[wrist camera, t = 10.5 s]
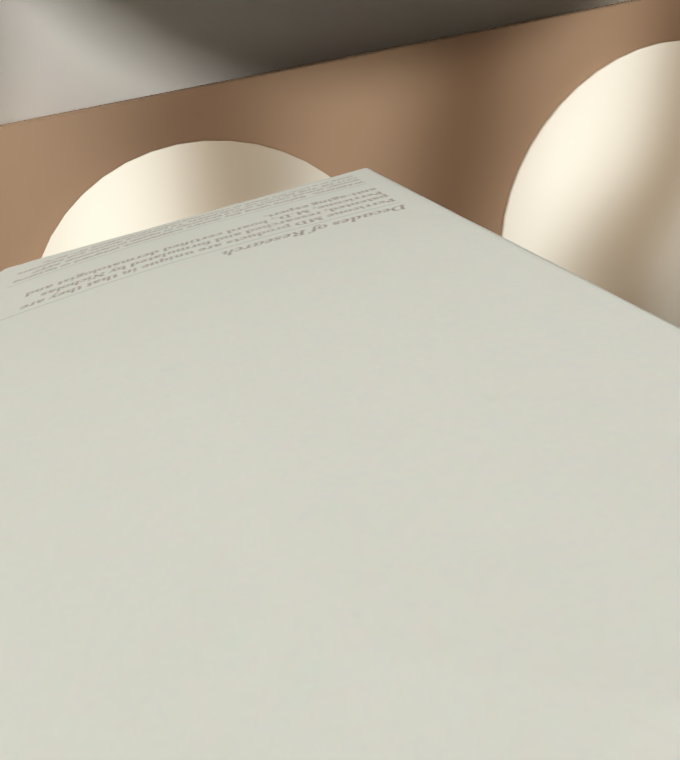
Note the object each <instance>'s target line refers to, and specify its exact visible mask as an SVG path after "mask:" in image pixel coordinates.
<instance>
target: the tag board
mask: <svg viewBox="0 0 680 760" xmlns="http://www.w3.org/2000/svg"><path fill="white" fill-rule="evenodd" d="M363 168H368V169H371V170H372V171H374V172H376V173H378V174H380V175H382V176H384V177H386V178H388V179H390V180H392V181H394V182H396V183H398V184H400V185H402V186H404V187H405V188H407V189H409V190H411V191H413V192H415V193H417V194H419V195H421V196H423V197H425V198H427V199H429V200H431V201H433V202H435V203H437V204H439V205H440V206H442V207H444V208H446V209H448V210H450V211H452V212H454V213H456V214H458V215H460V216H461V217H463V218H465V219H467V220H470V221H472V222H474V223H476V224H478V225H480V226H482V227H484V228H486V229H488V230H490V231H492V232H494V233H496V234H498V235H500V236H502V237H504V238H505V239H507V240H509V241H511V242H513V243H515V244H517V245H519V246H521V247H523V248H525V249H527V250H529V251H531V252H533V253H534V254H536V255H538V256H540V257H542V258H544V259H546V260H549V261H551V262H553V263H555V264H557V265H559V266H560V267H562V268H564V269H566V270H568V271H570V272H572V273H574V274H576V275H578V276H580V277H582V278H583V279H585V280H587V281H589V282H591V283H593V284H595V285H597V286H599V287H601V288H603V289H605V290H606V291H608V292H610V293H612V294H614V295H616V296H618V297H620V298H622V299H624V300H626V301H628V302H630V303H632V304H634V305H636V306H638V307H639V308H641V309H643V310H645V311H647V312H649V313H651V314H653V315H655V316H657V317H659V318H661V319H663V320H665V321H667V322H669V323H671V324H673V325H675V326H677V327H679V328H680V0H632V1H627V2H621V3H616V4H611V5H606V6H601V7H596V8H591V9H586V10H581V11H576V12H571V13H566V14H561V15H556V16H550V17H545V18H540V19H535V20H530V21H525V22H520V23H515V24H510V25H505V26H500V27H495V28H490V29H485V30H480V31H474V32H469V33H464V34H459V35H454V36H449V37H444V38H439V39H434V40H429V41H424V42H419V43H414V44H409V45H403V46H398V47H393V48H388V49H383V50H378V51H373V52H368V53H363V54H358V55H353V56H348V57H343V58H338V59H332V60H327V61H322V62H317V63H312V64H307V65H302V66H297V67H292V68H287V69H282V70H277V71H272V72H267V73H261V74H256V75H251V76H246V77H241V78H236V79H231V80H226V81H221V82H216V83H211V84H206V85H201V86H196V87H191V88H185V89H180V90H175V91H170V92H165V93H160V94H155V95H150V96H145V97H140V98H135V99H130V100H125V101H120V102H114V103H109V104H104V105H99V106H94V107H89V108H84V109H79V110H74V111H69V112H64V113H59V114H54V115H49V116H43V117H38V118H33V119H28V120H23V121H18V122H13V123H8V124H3V125H0V272H1V271H3V270H4V269H6V268H9V267H12V266H16V265H20V264H24V263H27V262H30V261H33V260H36V259H40V258H44V257H47V256H51V255H55V254H58V253H62V252H65V251H69V250H73V249H76V248H80V247H83V246H87V245H91V244H94V243H98V242H102V241H105V240H109V239H112V238H116V237H120V236H123V235H127V234H131V233H134V232H138V231H142V230H145V229H149V228H152V227H156V226H159V225H163V224H166V223H170V222H173V221H176V220H180V219H184V218H188V217H191V216H195V215H199V214H203V213H206V212H210V211H213V210H216V209H219V208H223V207H226V206H229V205H233V204H236V203H240V202H244V201H249V200H253V199H257V198H260V197H263V196H266V195H270V194H274V193H277V192H281V191H284V190H287V189H291V188H295V187H298V186H301V185H305V184H308V183H312V182H316V181H320V180H324V179H327V178H331V177H334V176H338V175H341V174H345V173H348V172H352V171H356V170H360V169H363Z"/></svg>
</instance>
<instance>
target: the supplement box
mask: <svg viewBox="0 0 680 760" xmlns="http://www.w3.org/2000/svg"><path fill="white" fill-rule="evenodd" d="M0 760H680V328H679V327H677V326H675V325H673V324H671V323H669V322H667V321H665V320H663V319H661V318H659V317H657V316H655V315H653V314H651V313H649V312H647V311H645V310H643V309H641V308H639V307H638V306H636V305H634V304H632V303H630V302H628V301H626V300H624V299H622V298H620V297H618V296H616V295H614V294H612V293H610V292H608V291H606V290H605V289H603V288H601V287H599V286H597V285H595V284H593V283H591V282H589V281H587V280H585V279H583V278H582V277H580V276H578V275H576V274H574V273H572V272H570V271H568V270H566V269H564V268H562V267H560V266H559V265H557V264H555V263H553V262H551V261H549V260H546V259H544V258H542V257H540V256H538V255H536V254H534V253H533V252H531V251H529V250H527V249H525V248H523V247H521V246H519V245H517V244H515V243H513V242H511V241H509V240H507V239H505V238H504V237H502V236H500V235H498V234H496V233H494V232H492V231H490V230H488V229H486V228H484V227H482V226H480V225H478V224H476V223H474V222H472V221H470V220H467V219H465V218H463V217H461V216H460V215H458V214H456V213H454V212H452V211H450V210H448V209H446V208H444V207H442V206H440V205H439V204H437V203H435V202H433V201H431V200H429V199H427V198H425V197H423V196H421V195H419V194H417V193H415V192H413V191H411V190H409V189H407V188H405V187H404V186H402V185H400V184H398V183H396V182H394V181H392V180H390V179H388V178H386V177H384V176H382V175H380V174H378V173H376V172H374V171H372V170H371V169H368V168H363V169H360V170H356V171H352V172H348V173H345V174H341V175H338V176H334V177H331V178H327V179H324V180H320V181H316V182H312V183H308V184H305V185H301V186H298V187H295V188H291V189H287V190H284V191H281V192H277V193H274V194H270V195H266V196H263V197H260V198H257V199H253V200H249V201H244V202H240V203H236V204H233V205H229V206H226V207H223V208H219V209H216V210H213V211H210V212H206V213H203V214H199V215H195V216H191V217H188V218H184V219H180V220H176V221H173V222H170V223H166V224H163V225H159V226H156V227H152V228H149V229H145V230H142V231H138V232H134V233H131V234H127V235H123V236H120V237H116V238H112V239H109V240H105V241H102V242H98V243H94V244H91V245H87V246H83V247H80V248H76V249H73V250H69V251H65V252H62V253H58V254H55V255H51V256H47V257H44V258H40V259H36V260H33V261H30V262H27V263H24V264H20V265H16V266H12V267H9V268H6V269H4V270H3V271H1V272H0Z"/></svg>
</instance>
